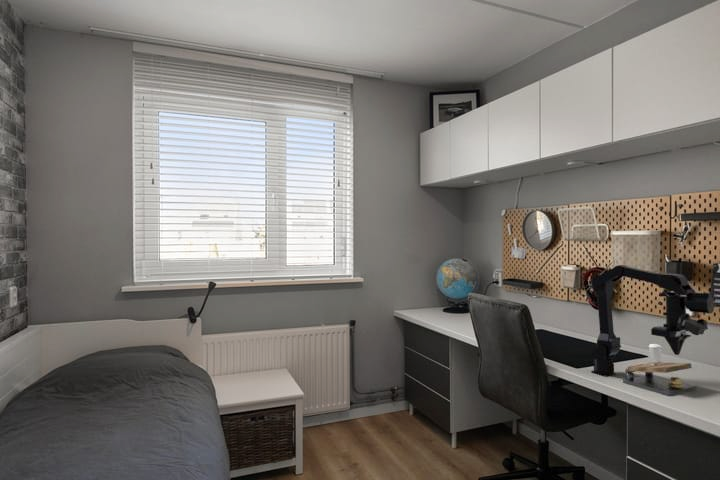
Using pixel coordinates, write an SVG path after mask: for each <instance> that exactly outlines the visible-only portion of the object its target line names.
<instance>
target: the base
mask: <svg viewBox="0 0 720 480" xmlns="http://www.w3.org/2000/svg"><path fill="white" fill-rule="evenodd" d="M634 373H635V372H631V373H626V372H625V375H626V378H623V379H622V383H623V384H626V385H630V386H633V387H636V388H640V389H643V390H646V391H650V392H654V393H657V394H660V395H663V396H666V397H669V396H674V395H679V394H682V393H686V392H690V391H695V390H697V388H698V387H697V385H695V384H691V383H687V382H683V381H682V378H681V377H677V376H671V377H670V378H668V377H664V376H660V375H656V374H654V372H644V373H645V374H643V375H638V376H634Z"/></svg>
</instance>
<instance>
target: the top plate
mask: <svg viewBox="0 0 720 480" xmlns="http://www.w3.org/2000/svg"><path fill="white" fill-rule="evenodd" d="M692 368H693V367H692V363H687V362H660V363H656V362H651V361H650V362H647V361H646V362H643V363H641V364H635V365H630V366H627V368H625V369H624V372H625V374H626V373H631V372H632V373H635V372H636V373H637V372H638V373H639V372H642V373H645V372H653V373H662V374H663V373H664V374H665V373H666V374H667V373H673V372H679V371H683V370H687V369H688V370H689V369H692Z"/></svg>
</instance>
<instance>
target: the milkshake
mask: <svg viewBox="0 0 720 480" xmlns="http://www.w3.org/2000/svg"><path fill="white" fill-rule="evenodd" d="M664 344H665V343H664V342H662V344H661V345H660V344H657V343H650V344H649V345H648V351H649V357H650V358H649V360H650V362H656V363H662V362H661V361H662V360H661V359H662V349H663V348H662V347H663V345H664Z"/></svg>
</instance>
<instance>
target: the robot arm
mask: <svg viewBox="0 0 720 480" xmlns="http://www.w3.org/2000/svg"><path fill="white" fill-rule="evenodd" d="M623 277H626V278H630V279H634V280H636V281H637V280H638V281H642V282H647V283H650V284H654V285H655V286H657V287H659V288H661V289H663V291H662V292H660V293H658V297H665V311H664V312H663V313H662V315H663V316H665V322H666V323H663V324H662V325H663V326H661V325H657V326H653V327H652V328H651V329H650V335H651V336H657V337H662V338H664V339H665V341H666V342H667V344H668V346H669V347H670V349H671V350H672V352H673V354H674V355H677V356H678V355H680V354H681V351H682V348H683V345H684V343H685V342H686V341H685V340H687V339H689V338H691V337H692V335H694V336H699V335H704V333H705V331H706V330H708V328H709V327H708V322H707V320H706V319H704V318H699V319H692V318H691V315H690V314H689V313H687V310H688V311H689V312H691V313H692V312H693V313H701V314H708V315H709V314H713V312H714V310H715V302H714V299H713V297H712V293H711V292H697V291H695V290H694V288H693V287H692V286H691V285H690V284H689V281H688V279H687V277H686V276H685V275H683V274H680V273H667V272H666V273H665V272H664V273H661V272H660V273H659V272H656V271H655V272H654V271H651V270H650V271H649V270H646V269H641V268H635V267H631V266H627V265H624V264H620V265H619V264H617V265H615V266H613V268H611V269H608V270H607V271H604V272H602V273H600V274H596V275H594V276H593V277H592V278H591V286H592V290H593V292H594V293H595V295H596V297H597V298H596V299H597V309H598V311H597V312H598V323H599V333H598V334H599V335H598V337H597V339H596V346H595V349H593V350H592V351H591V352H590V353H589V354H590V358H591V359H593V370H590V373H593V374H596V375H599V376H602V377H603V376H604V377H608V376H609V377H610V376H614V375H617V372H615V364H614V358H615V357H616V354H618V353H619V352H620V350H621V348H622V345H621V337H619V336H618V337H617V336H616V334H615V333H614V332H615V331H614V321H613V309H612V307H613V306H612V304H613V303H612V295H613V293H614V291H615V283H616V282H618V281H620V280H621V279H622V278H623ZM687 332H688V333H691V334H688V333H687Z"/></svg>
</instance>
